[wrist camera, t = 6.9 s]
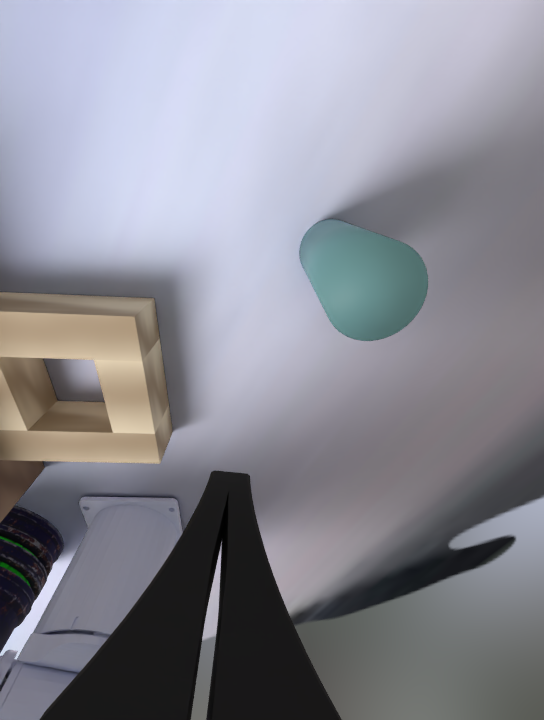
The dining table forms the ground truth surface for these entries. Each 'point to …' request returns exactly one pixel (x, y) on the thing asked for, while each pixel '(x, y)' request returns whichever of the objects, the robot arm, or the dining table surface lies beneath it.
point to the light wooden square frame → (115, 372)
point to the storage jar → (24, 564)
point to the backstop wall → (16, 481)
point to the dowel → (363, 279)
